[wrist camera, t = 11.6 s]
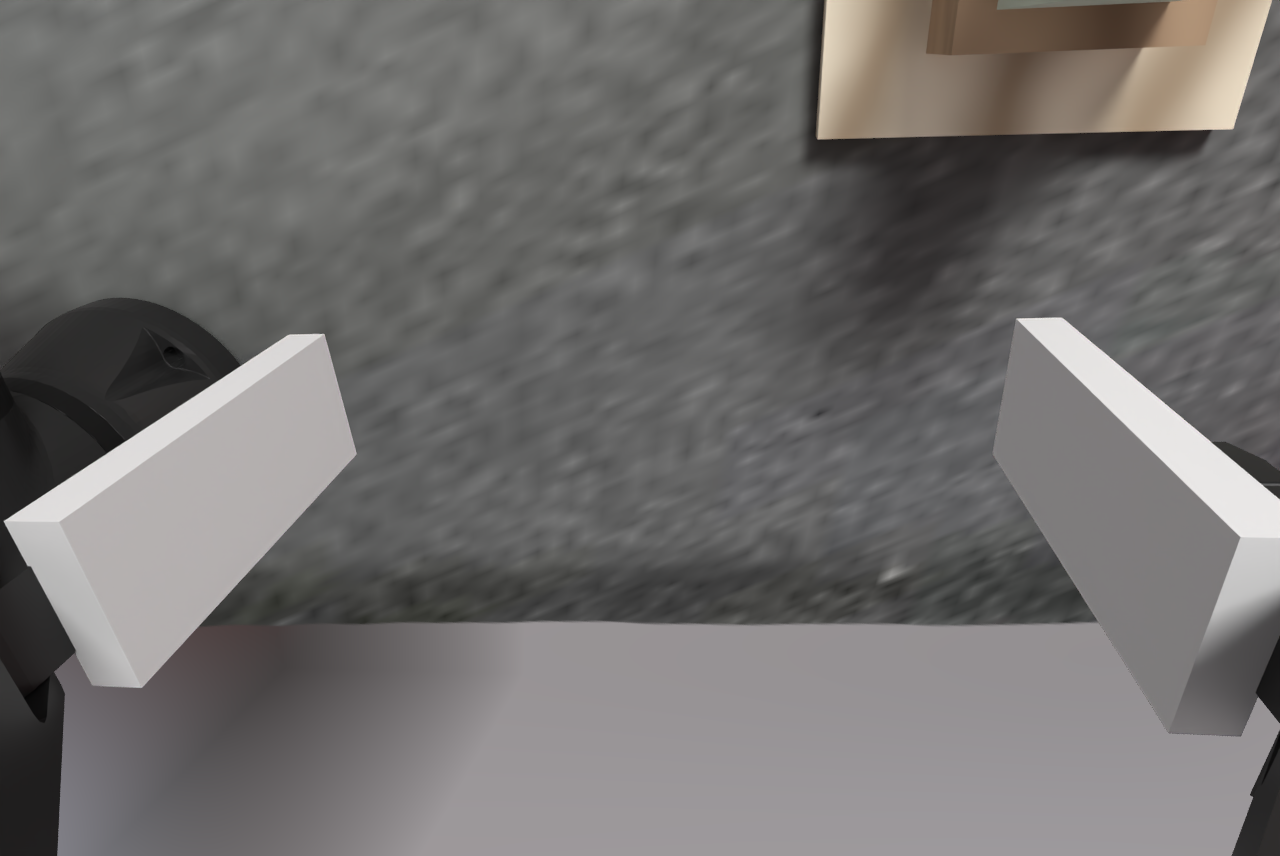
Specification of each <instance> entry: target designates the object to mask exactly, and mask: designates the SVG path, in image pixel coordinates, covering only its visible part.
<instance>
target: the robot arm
mask: <svg viewBox="0 0 1280 856" xmlns="http://www.w3.org/2000/svg"><path fill="white" fill-rule="evenodd" d="M355 455H356V450H355V446H354V442H353V439H352V435H351V431H350V427H349V424H348V420H347V416H346V413H345V409H344V405H343V401H342V398H341V394H340V390H339V386H338V383H337V379H336V375H335V372H334V368H333V364H332V360H331V357H330V353H329V349H328V345H327V342H326V338H325V334H299V335H288V336H286V337H285V338H283V339H282V340H280V341H278V342H277V343H275V344H274V345H272V346H271V347H269V348H268V349H266V350H265V351H263V352H262V353H260V354H259V355H257V356H256V357H254V358H252V359H251V360H249V361H248V362H246V363H245V364H243V365H242V366H240V364H239V363H238V362H237V361H236V359H235V358H234V357H233V356H232V355H231V353H230V352H229V351H228V350H227V349H226V348H225V347H224V346H223V345H222V344H221V343H220V342H219V341H218V340H217V339H215V338H214V337H213V336H212V335H211V334H209V333H208V332H207V331H206V330H204V329H203V328H202V327H200V326H199V325H197V324H196V323H194V322H193V321H191V320H190V319H188V318H186V317H184V316H183V315H181V314H179V313H177V312H175V311H173V310H170V309H168V308H166V307H163V306H160V305H157V304H154V303H151V302H147V301H143V300H138V299H130V298H110V299H103V300H99V301H95V302H92V303H89V304H87V305H84V306H82V307H79V308H77V309H74V310H72V311H69V312H67V313H64V314H62V315H60V316H58V317H57V318H55V319H54V320H52V321H50V322H49V323H48V324H46V325H45V326H44V327H43V328H42V329H41V330H40V331H39V332H38V333H37V334H36V335H35V336H34V337H33V338H32V339H31V340H30V341H29V342H28V343H27V344H26V345H25V346H24V347H23V348H22V349H21V350H20V351H19V352H18V353H17V354H16V355H15V356H14V357H13V358H12V359H11V360H10V361H9V362H8V363H7V364H6V365H5V366H4V367H3V368H2V369H1V370H0V856H57V848H58V827H59V806H60V805H59V804H60V783H61V762H62V741H63V719H64V696H65V693H64V691H63V688H62V686H61V684H60V682H59V680H58V679H57V677H56V675H55V673H54V671H55V670H56V669H57V668H59V667H60V665H62V664H63V663H64V662H65V661H66V660H67V659H68V658H69V657H71V656H72V655H73V654H74V653H75V655H76V657H77V658H78V660H79V662H80V664H81V666H82V668H83V670H84V671H85V673H86V675H87V677H88V679H89V680H90V682H91V684H92V686H110V687H132V688H133V687H134V688H142V687H143V686H144V685H145V684H146V683H147V682H148V681H149V680H150V679H151V677H152V676H153V675H154V674H155V673H156V672H157V671H158V670H159V669H160V668H161V667H162V665H163V664H164V663H165V662H166V661H167V660H168V659H169V658H170V657H171V655H173V654H174V652H175V651H176V650H177V649H178V648H179V647H180V646H181V645H182V644H183V643H184V642H185V640H186V639H187V638H188V637H189V636H190V635H191V634H192V633H193V632H194V631H195V630H196V628H197V627H198V626H199V625H200V624H201V623H202V622H203V621H204V620H205V619H206V618H207V617H208V615H209V614H210V613H211V612H212V611H213V610H214V609H215V608H216V607H217V606H218V605H219V603H220V602H221V601H222V600H223V599H224V598H225V597H226V596H227V595H228V594H229V593H230V591H231V590H232V589H233V588H234V587H235V586H236V585H237V584H238V583H239V582H240V581H241V579H242V578H243V577H244V576H245V575H246V574H247V573H248V572H249V571H250V570H251V569H252V568H253V566H254V565H255V564H256V563H257V562H258V561H259V560H260V559H261V558H262V557H263V556H264V554H265V553H266V552H267V551H268V550H269V549H270V548H271V547H272V546H273V545H274V544H275V542H276V541H277V540H278V539H279V538H280V537H281V536H282V535H283V534H284V533H285V532H286V531H287V529H288V528H289V527H290V526H291V525H292V524H293V523H294V522H295V521H296V520H297V519H298V517H299V516H300V515H301V514H302V513H303V512H304V511H305V510H306V509H307V508H308V507H309V505H310V504H311V503H312V502H313V501H314V500H315V499H316V498H317V497H318V496H319V495H320V494H321V492H322V491H323V490H324V489H325V488H326V487H327V486H328V485H329V484H330V483H331V482H332V480H333V479H334V478H335V477H336V476H337V475H338V474H339V473H340V472H341V471H342V470H343V468H344V467H345V466H346V465H347V464H348V463H349V462H350V461H351V460H352V459H353V458H354V457H355ZM993 456H994V457H995V459H996V460H997V462H998V464H999V465H1000V467H1001V468H1002V470H1003V471H1004V473H1005V475H1006V476H1007V478H1008V479H1009V481H1010V483H1011V484H1012V486H1013V487H1014V489H1015V490H1016V492H1017V494H1018V495H1019V497H1020V498H1021V500H1022V502H1023V503H1024V505H1025V506H1026V508H1027V510H1028V511H1029V513H1030V514H1031V516H1032V517H1033V519H1034V521H1035V522H1036V524H1037V525H1038V527H1039V529H1040V530H1041V532H1042V533H1043V535H1044V536H1045V538H1046V540H1047V541H1048V543H1049V544H1050V546H1051V548H1052V549H1053V551H1054V552H1055V554H1056V556H1057V557H1058V559H1059V560H1060V562H1061V563H1062V565H1063V567H1064V568H1065V570H1066V571H1067V573H1068V575H1069V576H1070V578H1071V579H1072V581H1073V583H1074V584H1075V586H1076V587H1077V589H1078V590H1079V592H1080V594H1081V595H1082V597H1083V598H1084V600H1085V602H1086V603H1087V605H1088V606H1089V608H1090V609H1091V611H1092V613H1093V614H1094V616H1095V617H1096V619H1097V621H1098V622H1099V624H1100V625H1101V626H1102V628H1103V630H1104V632H1105V633H1106V635H1107V636H1108V638H1109V640H1110V641H1111V643H1112V644H1113V646H1114V647H1115V649H1116V651H1117V652H1118V654H1119V655H1120V657H1121V658H1122V660H1123V662H1124V663H1125V665H1126V667H1127V668H1128V670H1129V671H1130V673H1131V675H1132V676H1133V678H1134V679H1135V681H1136V682H1137V684H1138V686H1139V687H1140V689H1141V690H1142V692H1143V694H1144V695H1145V697H1146V698H1147V700H1148V701H1149V703H1150V705H1151V706H1152V708H1153V709H1154V711H1155V712H1156V714H1157V716H1158V717H1159V719H1160V720H1161V722H1162V723H1163V725H1164V727H1165V728H1166V730H1167V732H1168V733H1175V734H1197V735H1220V736H1241V735H1242V733H1243V730H1244V728H1245V725H1246V723H1247V721H1248V719H1249V716H1250V714H1251V712H1252V710H1253V707H1254V705H1255V702H1256V700H1257V698H1258V697H1259V698H1260V699H1261V700H1262V701H1263V703H1264V704H1265V705H1266V707H1267V708H1268V709H1269V710H1270V711H1271V713H1272V714H1273V715H1274V717H1275V718H1276V719H1277V720H1278V722H1279V723H1280V471H1278V470H1277V469H1276V468H1274V467H1273V466H1272V465H1271V464H1269V463H1268V462H1267V461H1266V460H1264V459H1261V458H1259V457H1257V456H1255V455H1253V454H1251V453H1249V452H1246V451H1244V450H1242V449H1240V448H1238V447H1236V446H1233V445H1231V444H1229V443H1227V442H1210V441H1209V440H1208V439H1207V438H1205V437H1204V436H1203V435H1202V434H1201V433H1199V432H1198V431H1197V430H1196V429H1195V428H1193V427H1192V426H1191V425H1190V424H1189V423H1187V422H1186V421H1185V420H1184V419H1183V418H1181V417H1180V416H1179V415H1178V414H1177V413H1175V412H1174V411H1173V410H1172V409H1171V408H1170V407H1168V406H1167V405H1166V404H1165V403H1164V402H1162V401H1161V400H1160V399H1159V398H1158V397H1156V396H1155V395H1154V394H1153V393H1152V392H1150V391H1149V390H1148V389H1147V388H1146V387H1144V386H1143V385H1142V384H1141V383H1140V382H1138V381H1137V380H1136V379H1135V378H1134V377H1132V376H1131V375H1130V374H1129V373H1128V372H1126V371H1125V370H1124V369H1123V368H1122V367H1120V366H1119V365H1118V364H1117V363H1116V362H1114V361H1113V360H1112V359H1111V358H1110V357H1108V356H1107V355H1106V354H1105V353H1104V352H1102V351H1101V350H1100V349H1099V348H1098V347H1096V346H1095V345H1094V344H1093V343H1092V342H1090V341H1089V340H1088V339H1087V338H1086V337H1084V336H1083V335H1082V334H1081V333H1080V332H1079V331H1077V330H1076V329H1075V328H1074V327H1073V326H1071V325H1070V324H1069V323H1068V322H1067V321H1065V320H1064V319H1063V318H1025V319H1016V322H1015V328H1014V334H1013V340H1012V345H1011V351H1010V357H1009V363H1008V368H1007V374H1006V380H1005V386H1004V391H1003V397H1002V403H1001V409H1000V414H999V420H998V426H997V432H996V437H995V443H994V449H993ZM1250 795H1251V796H1253V800H1252V802H1251V805H1250V808H1249V810H1248V813H1247V816H1246V819H1245V821H1244V824H1243V827H1242V829H1241V832H1240V835H1239V838H1238V840H1237V843H1236V846H1235V848H1234V851H1233V854H1232V856H1280V731H1279V733H1278V735H1277V738H1276V740H1275V742H1274V744H1273V747H1272V749H1271V751H1270V753H1269V755H1268V757H1267V759H1266V762H1265V763H1264V766H1263V768H1262V770H1261V772H1260V775H1259V776H1258V779H1257V781H1256V783H1255V785H1254V787H1253V789H1252V791H1251V794H1250Z"/></svg>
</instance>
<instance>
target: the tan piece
mask: <svg viewBox="0 0 1280 856" xmlns="http://www.w3.org/2000/svg"><path fill="white" fill-rule="evenodd" d="M1271 2H1272V0H1182V1H1172V2H1152V3H1131V4H1110V5H1089V6H1068V7H1047V8H1026V9H1005V10H997V4H998V0H824V13H823V28H822V44H821V60H820V75H819V91H818V106H817V122H816V137H817V139H854V138H894V137H934V136H974V135H1015V134H1055V133H1095V132H1136V131H1176V130H1216V129H1233V128H1234V124H1235V121H1236V118H1237V114H1238V111H1239V108H1240V104H1241V101H1242V98H1243V94H1244V91H1245V88H1246V85H1247V81H1248V78H1249V75H1250V71H1251V68H1252V65H1253V61H1254V58H1255V55H1256V52H1257V48H1258V45H1259V42H1260V38H1261V35H1262V32H1263V28H1264V25H1265V22H1266V19H1267V15H1268V12H1269V9H1270V5H1271Z"/></svg>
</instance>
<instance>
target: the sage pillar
mask: <svg viewBox="0 0 1280 856" xmlns="http://www.w3.org/2000/svg"><path fill="white" fill-rule="evenodd" d="M1172 1H1182V0H998V4H997V10H1005V9H1026V8H1047V7H1068V6H1089V5H1110V4H1131V3H1152V2H1172Z"/></svg>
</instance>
